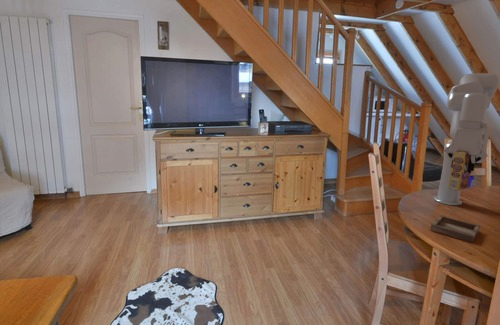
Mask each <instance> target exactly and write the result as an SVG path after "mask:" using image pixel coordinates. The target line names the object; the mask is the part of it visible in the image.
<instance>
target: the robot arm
mask: <svg viewBox="0 0 500 325" xmlns="http://www.w3.org/2000/svg"><path fill="white" fill-rule="evenodd" d="M499 85H500V79H499V76H498V75H497V74H495V73H491V72H490V73H487V72H486V73H483V72H482V73H476V72H475V73H467V74H465V75H464V76H462V77H461V79H460V80H459V84H456V85H454V86H452V87H451V89H450V91H449V92H448V95H447V103H446V104H447V109H448V110H449V111H451V112H452V116H451V123H450V127H449V128H450V129H449V130H450V131H449V136H450V138H452V139H451V141H448V142H447V143H445V145H443V146H444V148H443V162H442V170H441V175H440V181H439V187H438V192H437V195H435V196H433V200H434V201H436V202H437V203H440V204H444V205H449V206H461V205H463V200H461V199H460V196H461V192H462V190H459V191H457V190H453V189H449V188H448V185H449V180H450V175H451V170H452V165H453V159H454V154H455V152H467V153H469V155H471V163H470V164H469V169H468V173H471V174H472V172H474V170H475V166H476V165H475V164H481V163H483V162H484V161H485V159H486V158H487V157H489V155H488V153H487V149H488V142H489V137H490V136H489V135H490V127H489V125H488V123H486V122H484V118H485V113H486V110H488V109H489V108H490V104H491V101H492V99H493V98H494V95H495V93H496V92H497V90H498V88H499Z"/></svg>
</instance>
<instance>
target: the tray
mask: <svg viewBox="0 0 500 325" xmlns="http://www.w3.org/2000/svg"><path fill="white" fill-rule="evenodd" d="M480 228H481V225H479V224H475V223H471V222H467V221H463V220H459V219H456V218H452V217H448V216H444V215H439V216H438V217H437V218H436V220H434V221H433V222H432V223H431V225H430V231H431V232H435V233H437V234H442V235H445V236H448V237H450V238H451V237H452V238H455V239H458V240H462V241H465V242H469V243H471V244H473V242H474V240H475V239H476V237H477V235H478V234H479V232H480Z"/></svg>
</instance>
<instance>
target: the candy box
mask: <svg viewBox="0 0 500 325" xmlns="http://www.w3.org/2000/svg"><path fill="white" fill-rule="evenodd" d="M470 163H471V155H469V153H467V152H455V154H454V159H453V165H452V170H451V175H450V180H449V185H448V188H449V189H453V190H457V191H459V190H461V191H462V190H465V189H468V188H469V185H470V181H471V180H470V179H471V176H472V172H471V173H468V169H469V164H470Z"/></svg>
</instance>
